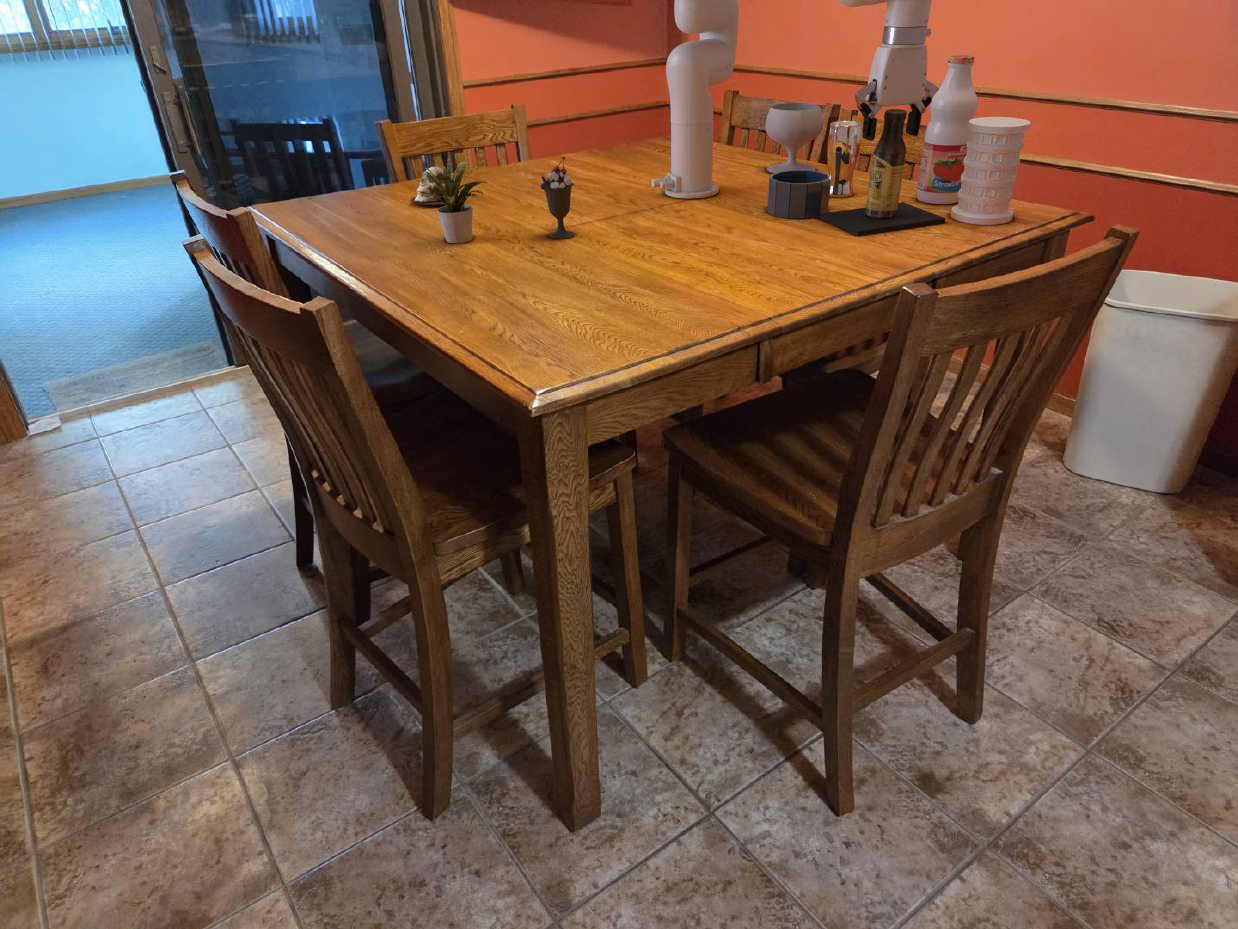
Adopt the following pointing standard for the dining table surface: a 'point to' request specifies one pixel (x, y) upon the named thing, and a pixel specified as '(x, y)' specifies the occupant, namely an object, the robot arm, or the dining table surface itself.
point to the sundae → (558, 198)
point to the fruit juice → (947, 134)
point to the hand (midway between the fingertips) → (890, 136)
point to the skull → (429, 188)
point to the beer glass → (843, 156)
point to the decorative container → (990, 170)
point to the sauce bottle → (887, 167)
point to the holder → (798, 194)
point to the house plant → (454, 203)
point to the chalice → (793, 131)
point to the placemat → (881, 220)
